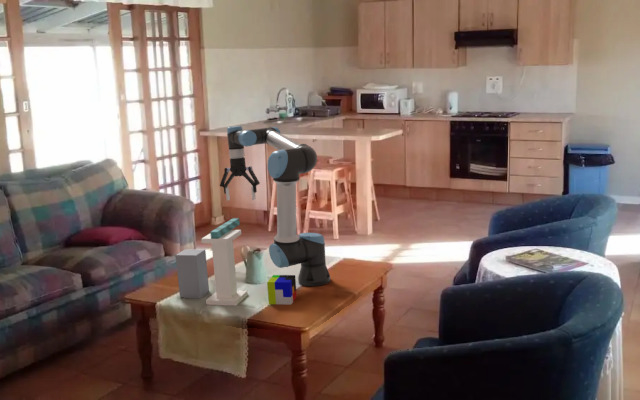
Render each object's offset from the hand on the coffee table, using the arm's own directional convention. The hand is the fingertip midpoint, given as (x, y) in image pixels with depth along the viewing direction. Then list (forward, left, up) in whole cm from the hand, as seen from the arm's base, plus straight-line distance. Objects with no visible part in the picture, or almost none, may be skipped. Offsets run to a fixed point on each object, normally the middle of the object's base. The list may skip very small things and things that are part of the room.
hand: (241, 199), depth 348 cm
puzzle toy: (-55, +8, -36) cm, 67 cm away
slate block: (-21, +36, -36) cm, 55 cm away
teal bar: (-35, +23, -6) cm, 42 cm away
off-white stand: (-38, +27, -36) cm, 59 cm away
